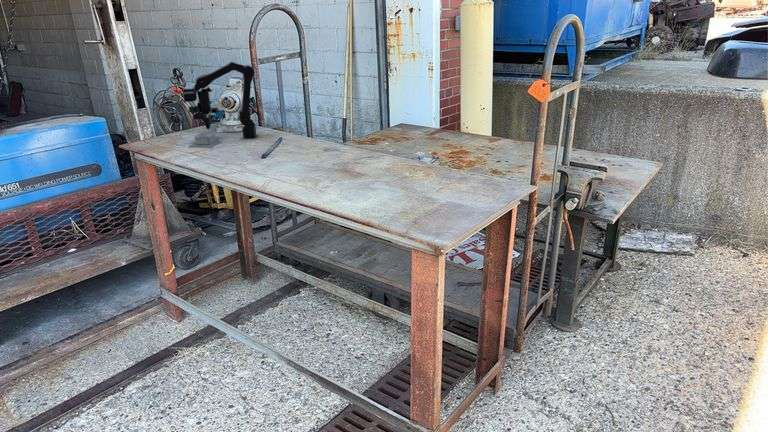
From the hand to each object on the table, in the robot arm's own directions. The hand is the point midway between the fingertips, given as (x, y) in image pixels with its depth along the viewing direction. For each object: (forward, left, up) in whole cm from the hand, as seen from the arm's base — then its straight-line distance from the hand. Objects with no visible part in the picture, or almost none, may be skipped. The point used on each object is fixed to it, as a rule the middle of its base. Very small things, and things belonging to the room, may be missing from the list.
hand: (208, 128), depth 301 cm
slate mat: (0, +6, -7) cm, 10 cm away
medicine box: (0, -1, -4) cm, 4 cm away
